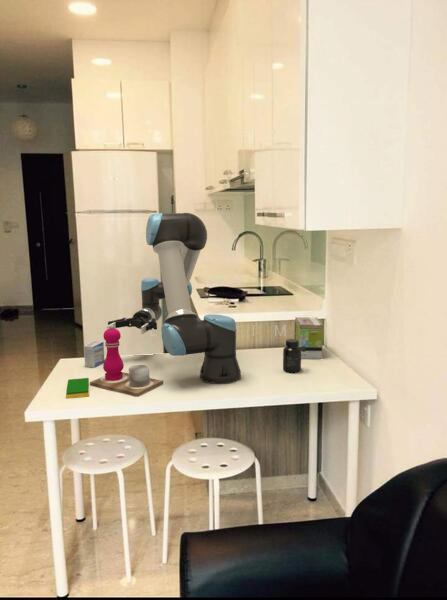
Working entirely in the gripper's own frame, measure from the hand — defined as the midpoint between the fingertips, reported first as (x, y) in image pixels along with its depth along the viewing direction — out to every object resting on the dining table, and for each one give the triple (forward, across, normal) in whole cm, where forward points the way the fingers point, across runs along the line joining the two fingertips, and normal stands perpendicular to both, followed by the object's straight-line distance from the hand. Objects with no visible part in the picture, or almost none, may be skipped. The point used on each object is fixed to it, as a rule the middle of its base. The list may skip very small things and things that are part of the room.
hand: (124, 330), depth 192 cm
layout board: (+13, -5, -17) cm, 22 cm away
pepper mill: (+11, +1, -16) cm, 19 cm away
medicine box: (-7, +16, -17) cm, 24 cm away
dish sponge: (+21, +10, -17) cm, 29 cm away
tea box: (-35, -68, -17) cm, 78 cm away
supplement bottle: (-12, -62, -17) cm, 66 cm away
